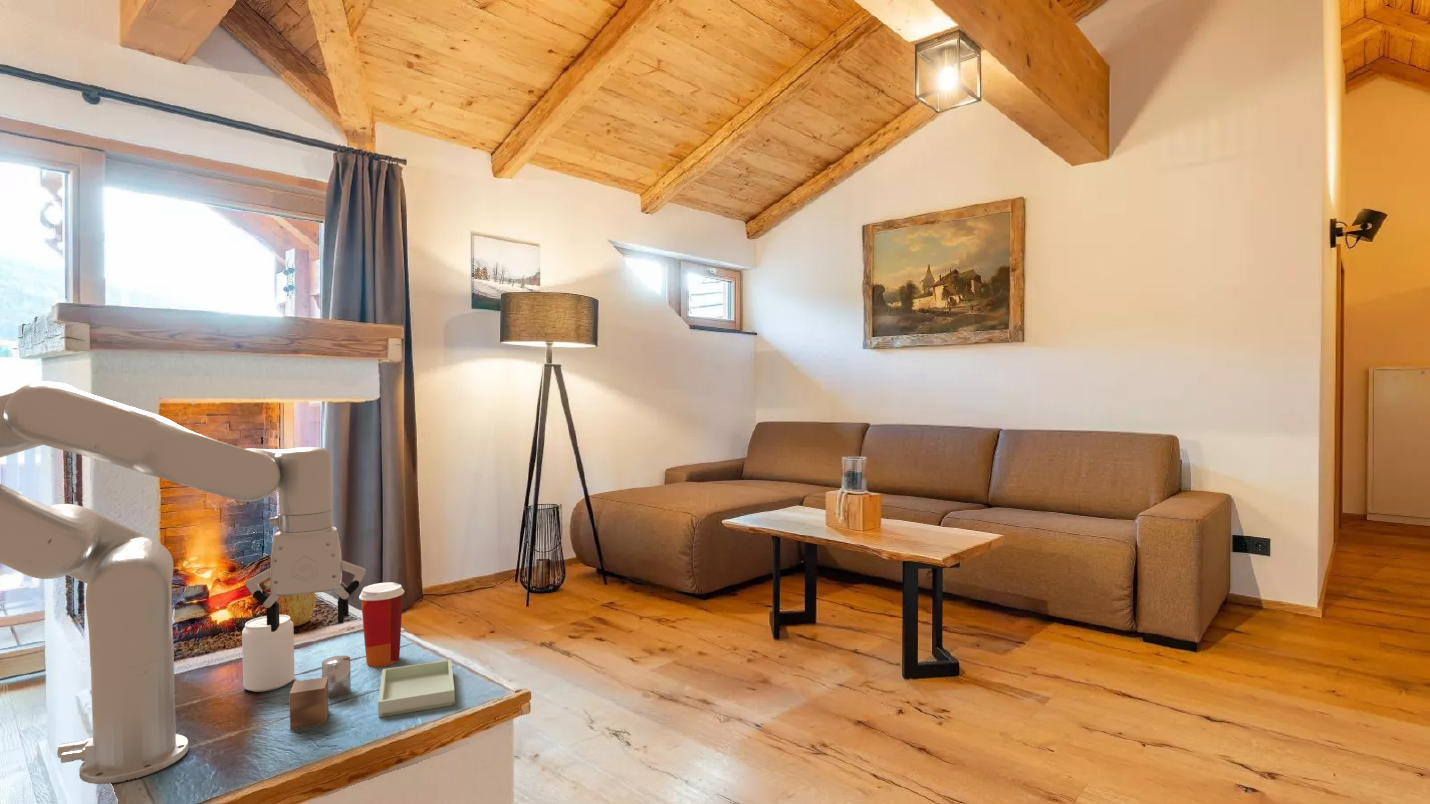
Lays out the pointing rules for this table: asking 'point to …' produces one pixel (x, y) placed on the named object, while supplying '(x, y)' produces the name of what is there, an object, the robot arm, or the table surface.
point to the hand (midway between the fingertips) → (308, 624)
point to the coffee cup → (382, 622)
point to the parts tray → (416, 688)
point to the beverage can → (267, 654)
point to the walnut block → (309, 703)
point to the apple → (297, 607)
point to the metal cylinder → (337, 675)
